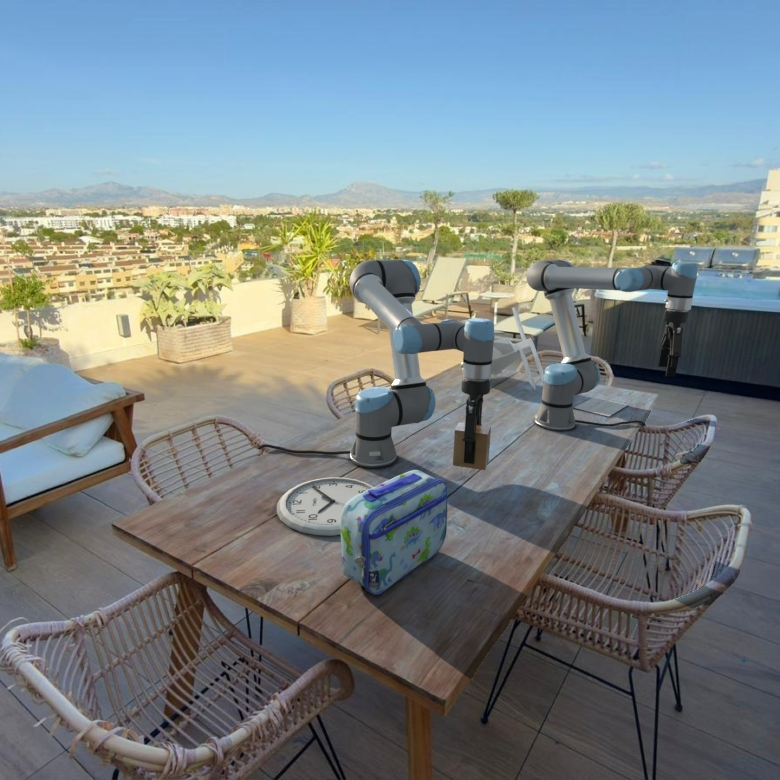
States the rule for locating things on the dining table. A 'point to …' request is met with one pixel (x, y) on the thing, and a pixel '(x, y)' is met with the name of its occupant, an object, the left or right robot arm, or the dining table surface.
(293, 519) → the wall clock
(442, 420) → the dining table surface
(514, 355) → the white plastic object
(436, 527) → the lunch box
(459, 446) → the wooden block
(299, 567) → the dining table surface
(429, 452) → the dining table surface
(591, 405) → the invitation card
